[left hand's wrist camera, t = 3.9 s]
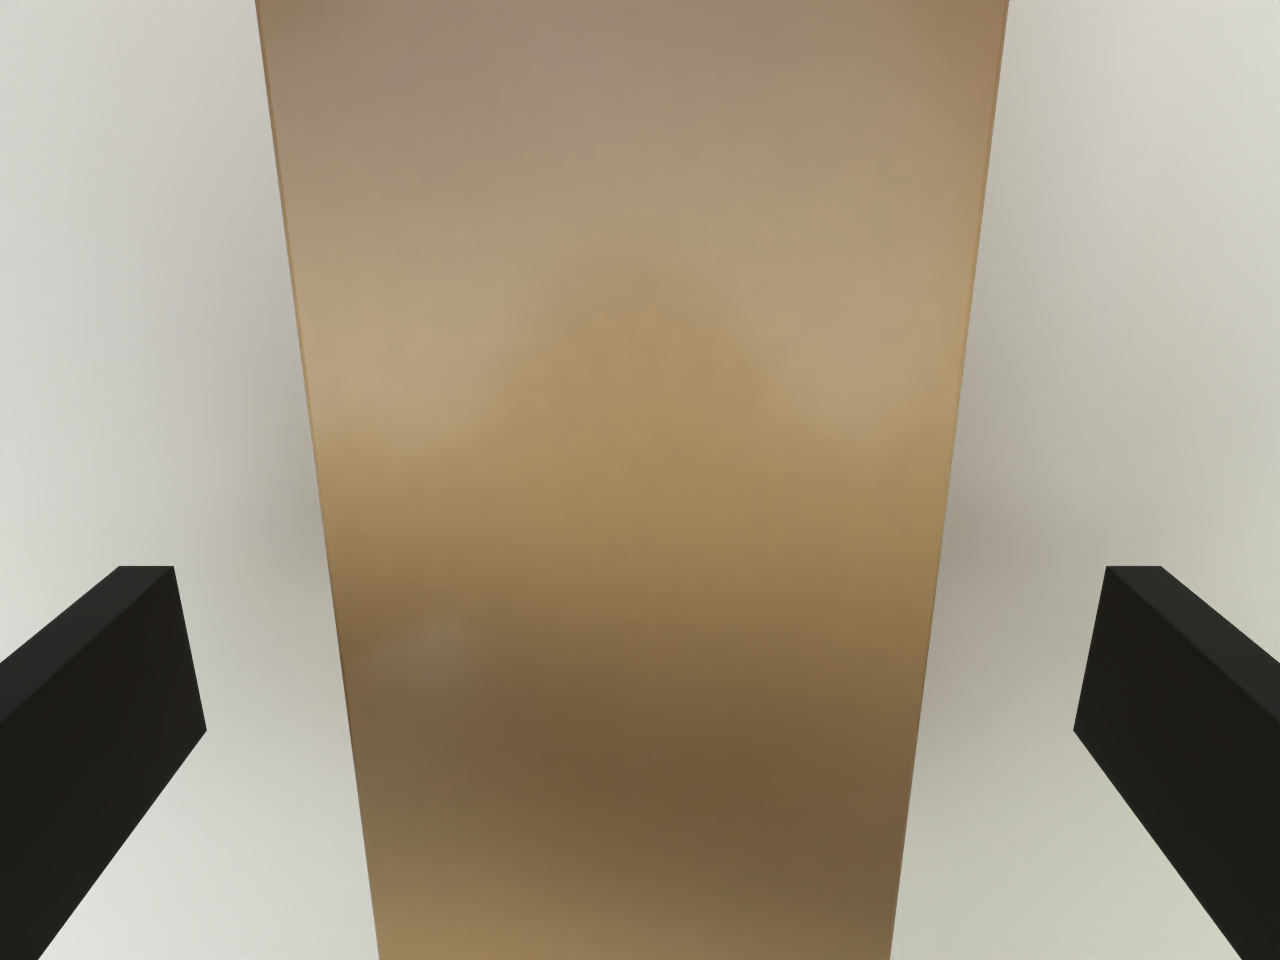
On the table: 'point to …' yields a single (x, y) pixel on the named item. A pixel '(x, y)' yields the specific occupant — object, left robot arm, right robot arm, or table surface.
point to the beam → (633, 449)
